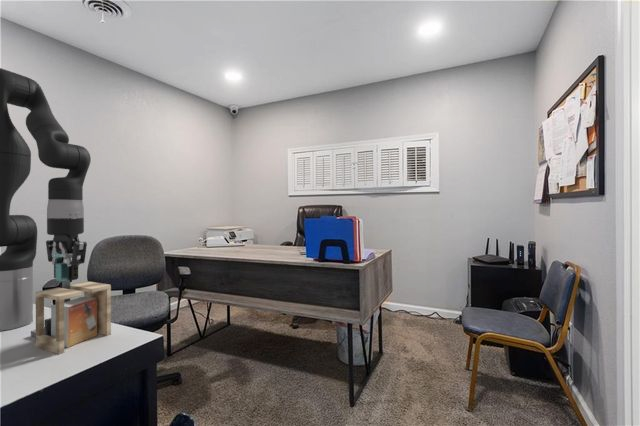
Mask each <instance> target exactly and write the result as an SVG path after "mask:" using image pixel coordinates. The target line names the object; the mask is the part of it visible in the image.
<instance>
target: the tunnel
mask: <svg viewBox="0 0 640 426" xmlns="http://www.w3.org/2000/svg"><path fill="white" fill-rule="evenodd" d="M83 292H84V293H83ZM82 293H83V294H84V296H83V297H89V298H97V335H98V334H99V335H103V336H109V335H110V336H111V335H112V286H111V284H108V283H102V282H94V281H83V282H77V283H73V284H70V289H65V288H62V287H55V288H49V289H45V290H44V289H43V290H39V291H35V330H36V338H35V348H39V349H42V350H45V351H48V352H51V353H54V354H58V355H60V354H63V353H65V347H64V299H69V298H70V299H72V298H78V297H80V296H81V297H82V295H83V294H82ZM45 299H49V300H53V301H55V305H56V338H55V337H51V336H48V335H44V327H45V324H44V320H45Z"/></svg>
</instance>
